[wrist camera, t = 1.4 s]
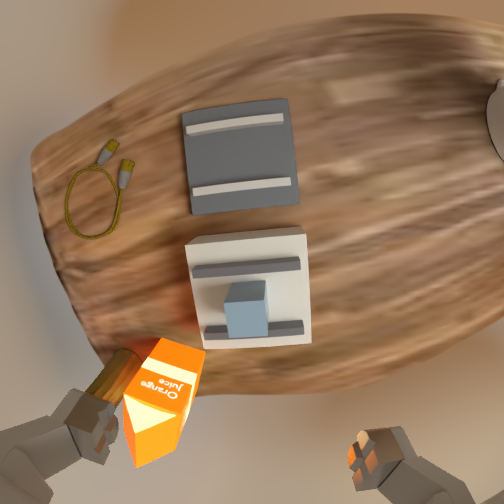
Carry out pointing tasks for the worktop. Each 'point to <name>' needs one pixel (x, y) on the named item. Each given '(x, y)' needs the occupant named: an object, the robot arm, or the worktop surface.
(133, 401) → the orange juice
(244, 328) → the plug
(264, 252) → the block
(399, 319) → the worktop surface
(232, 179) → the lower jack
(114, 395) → the vase
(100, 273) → the worktop surface
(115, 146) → the coiled cable
